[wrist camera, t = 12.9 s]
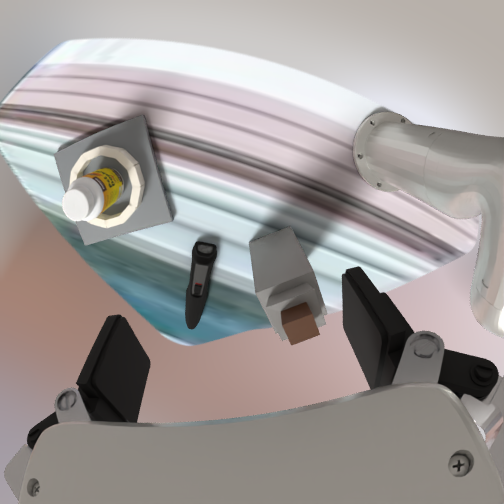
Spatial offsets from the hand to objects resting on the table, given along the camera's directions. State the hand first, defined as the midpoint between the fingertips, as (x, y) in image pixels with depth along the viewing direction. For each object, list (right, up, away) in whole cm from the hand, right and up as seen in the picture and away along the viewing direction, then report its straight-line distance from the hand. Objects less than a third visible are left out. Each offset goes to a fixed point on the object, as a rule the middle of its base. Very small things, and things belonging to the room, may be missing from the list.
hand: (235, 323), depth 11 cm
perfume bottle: (+5, +3, +33) cm, 33 cm away
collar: (-20, +13, +26) cm, 35 cm away
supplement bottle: (-20, +13, +25) cm, 35 cm away
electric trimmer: (-8, -2, +35) cm, 36 cm away
